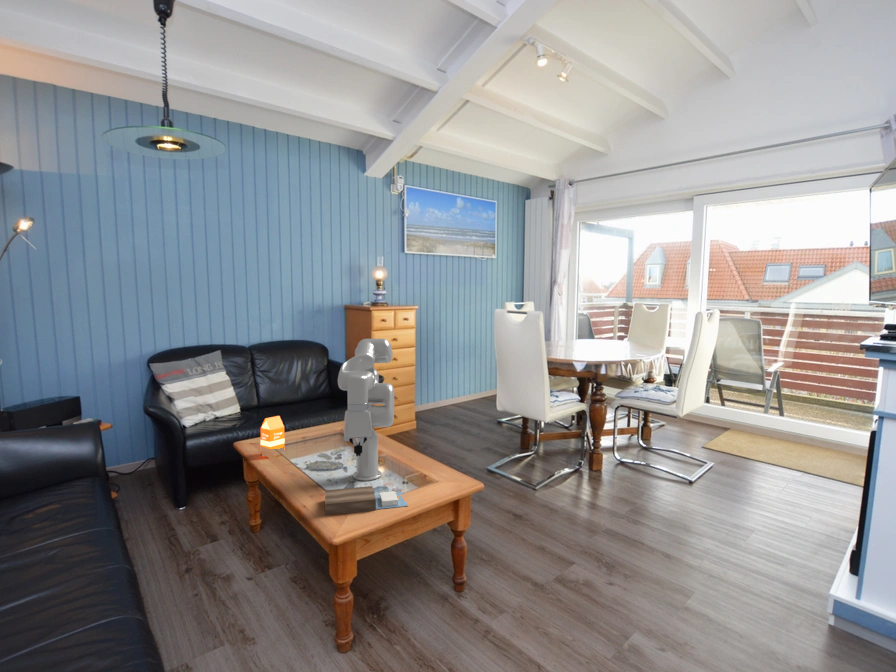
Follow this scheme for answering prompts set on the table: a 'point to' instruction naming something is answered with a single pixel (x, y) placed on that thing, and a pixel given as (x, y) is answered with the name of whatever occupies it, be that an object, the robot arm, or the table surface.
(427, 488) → the table surface
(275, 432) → the orange juice
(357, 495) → the brown wooden block
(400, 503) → the mat
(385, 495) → the off-white flat slab
